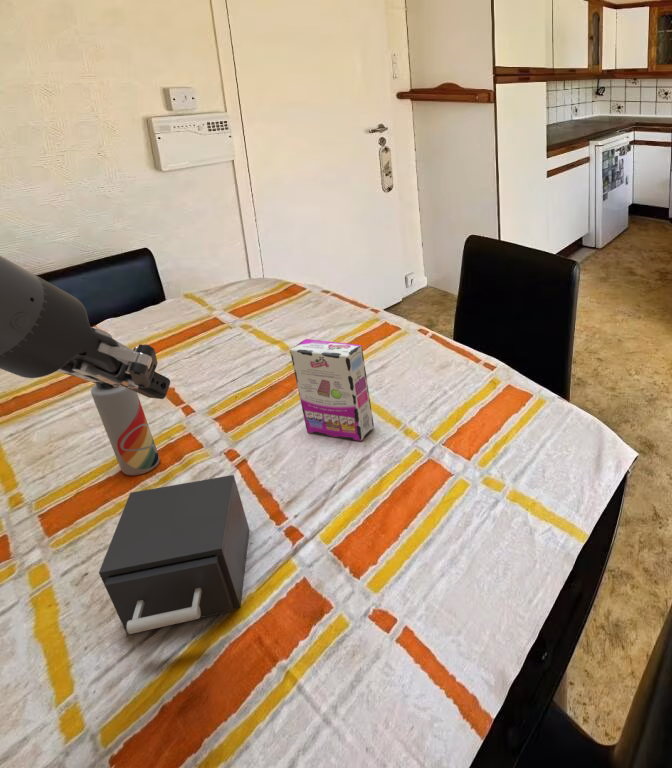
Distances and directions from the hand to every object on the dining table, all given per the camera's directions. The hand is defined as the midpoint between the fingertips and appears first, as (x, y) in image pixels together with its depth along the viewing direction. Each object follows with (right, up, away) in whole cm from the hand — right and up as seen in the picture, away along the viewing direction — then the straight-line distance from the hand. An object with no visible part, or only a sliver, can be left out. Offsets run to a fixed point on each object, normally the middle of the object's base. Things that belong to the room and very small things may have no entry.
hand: (161, 389), depth 63 cm
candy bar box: (+5, -8, +48) cm, 49 cm away
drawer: (-5, -25, +14) cm, 29 cm away
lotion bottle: (-26, -13, +40) cm, 49 cm away
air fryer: (-6, -24, +18) cm, 31 cm away
